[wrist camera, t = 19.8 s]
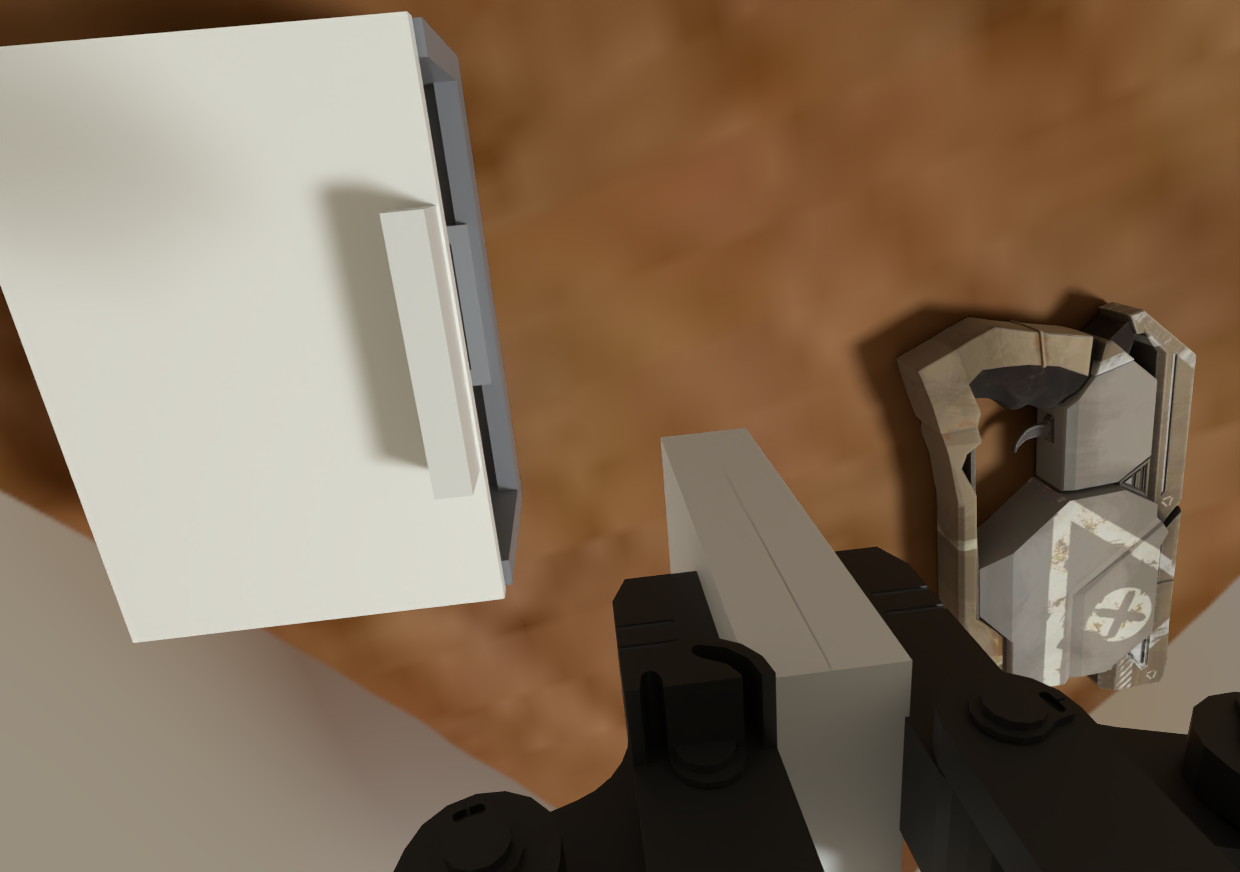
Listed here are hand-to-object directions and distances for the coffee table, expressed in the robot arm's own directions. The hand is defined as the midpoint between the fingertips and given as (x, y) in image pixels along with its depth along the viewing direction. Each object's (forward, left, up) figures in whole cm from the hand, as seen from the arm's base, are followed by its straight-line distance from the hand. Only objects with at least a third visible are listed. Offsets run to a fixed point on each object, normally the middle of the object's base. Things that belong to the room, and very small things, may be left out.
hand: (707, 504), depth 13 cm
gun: (+15, +23, -27) cm, 39 cm away
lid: (0, -14, -17) cm, 22 cm away
